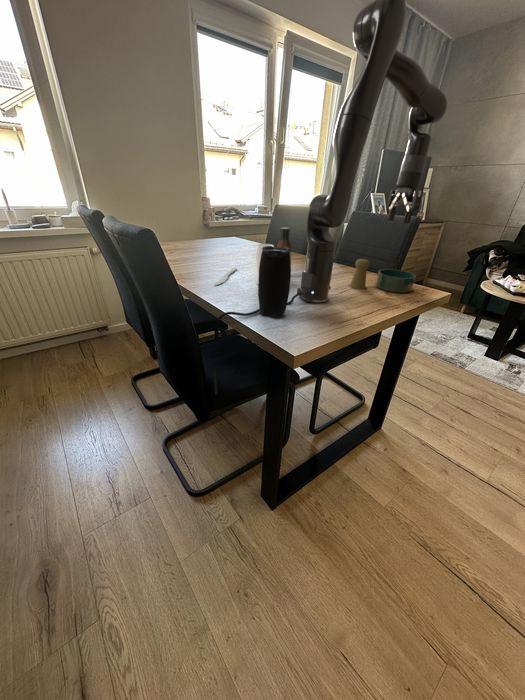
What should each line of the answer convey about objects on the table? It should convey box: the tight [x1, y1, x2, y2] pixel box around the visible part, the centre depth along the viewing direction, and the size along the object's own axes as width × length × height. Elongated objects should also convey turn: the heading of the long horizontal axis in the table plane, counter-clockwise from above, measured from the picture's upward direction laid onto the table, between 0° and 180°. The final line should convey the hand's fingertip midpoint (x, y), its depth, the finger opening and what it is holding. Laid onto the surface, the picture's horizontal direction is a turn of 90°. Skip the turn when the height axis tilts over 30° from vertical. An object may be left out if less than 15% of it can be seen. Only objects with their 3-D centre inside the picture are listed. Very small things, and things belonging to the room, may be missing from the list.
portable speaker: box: [257, 246, 292, 319], centre depth 83 cm, size 9×9×20 cm
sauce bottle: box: [276, 227, 293, 263], centre depth 121 cm, size 7×6×20 cm
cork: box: [349, 258, 370, 290], centre depth 114 cm, size 6×6×11 cm
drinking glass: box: [255, 243, 275, 284], centre depth 111 cm, size 7×7×15 cm
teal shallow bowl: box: [375, 268, 417, 294], centre depth 115 cm, size 14×14×6 cm
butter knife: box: [214, 267, 237, 286], centre depth 121 cm, size 1×27×3 cm
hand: (398, 221), depth 106 cm, fingers open, 8 cm apart
